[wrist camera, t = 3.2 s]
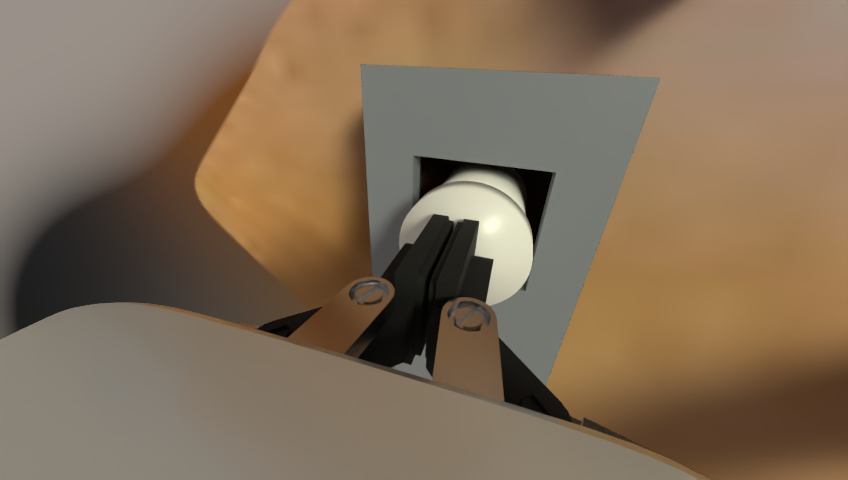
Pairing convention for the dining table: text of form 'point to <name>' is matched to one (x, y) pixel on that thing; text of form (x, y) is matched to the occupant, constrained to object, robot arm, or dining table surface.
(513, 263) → the plug
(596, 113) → the block
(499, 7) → the dining table surface
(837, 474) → the dining table surface
